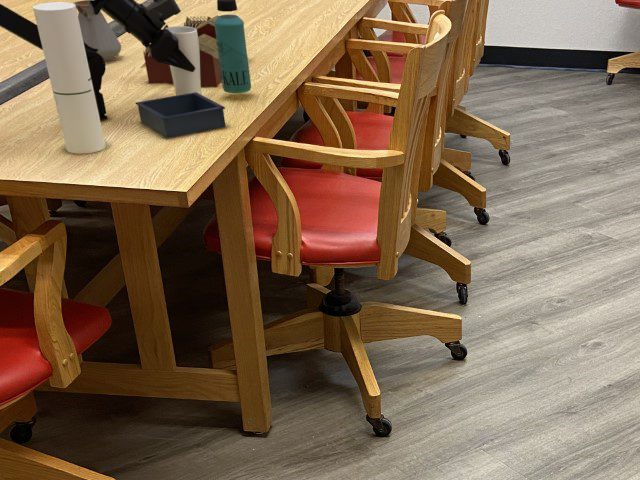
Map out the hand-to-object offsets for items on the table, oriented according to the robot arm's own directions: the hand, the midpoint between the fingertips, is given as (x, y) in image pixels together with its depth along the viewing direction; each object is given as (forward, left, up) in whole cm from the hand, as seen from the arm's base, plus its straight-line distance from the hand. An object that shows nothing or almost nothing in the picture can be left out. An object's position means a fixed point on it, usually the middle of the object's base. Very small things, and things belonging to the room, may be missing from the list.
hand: (190, 65), depth 207 cm
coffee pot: (-5, +44, -8) cm, 45 cm away
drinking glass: (-2, 0, -8) cm, 8 cm away
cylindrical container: (-30, -16, -8) cm, 35 cm away
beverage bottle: (+10, -1, -8) cm, 13 cm away
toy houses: (+17, +32, -8) cm, 37 cm away
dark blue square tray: (-9, -13, -8) cm, 17 cm away
